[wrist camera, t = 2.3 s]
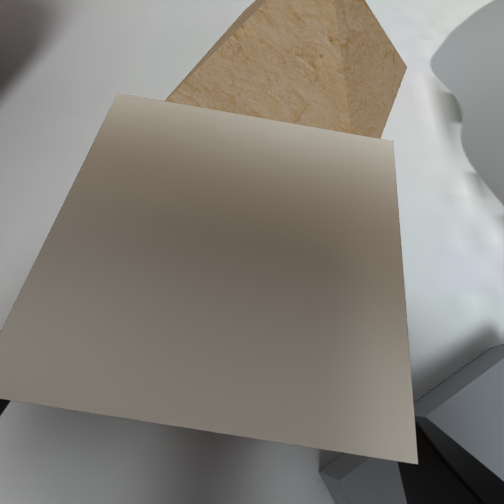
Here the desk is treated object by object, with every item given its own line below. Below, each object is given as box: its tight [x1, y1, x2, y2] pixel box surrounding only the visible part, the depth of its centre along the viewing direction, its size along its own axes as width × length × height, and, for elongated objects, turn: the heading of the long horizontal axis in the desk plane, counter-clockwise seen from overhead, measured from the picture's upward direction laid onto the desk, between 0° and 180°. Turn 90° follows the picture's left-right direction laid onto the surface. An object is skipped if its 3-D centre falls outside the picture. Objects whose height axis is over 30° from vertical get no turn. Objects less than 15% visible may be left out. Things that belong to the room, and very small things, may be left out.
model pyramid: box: [165, 0, 407, 139], centre depth 24 cm, size 17×17×10 cm
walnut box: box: [0, 93, 418, 464], centre depth 11 cm, size 5×5×14 cm
